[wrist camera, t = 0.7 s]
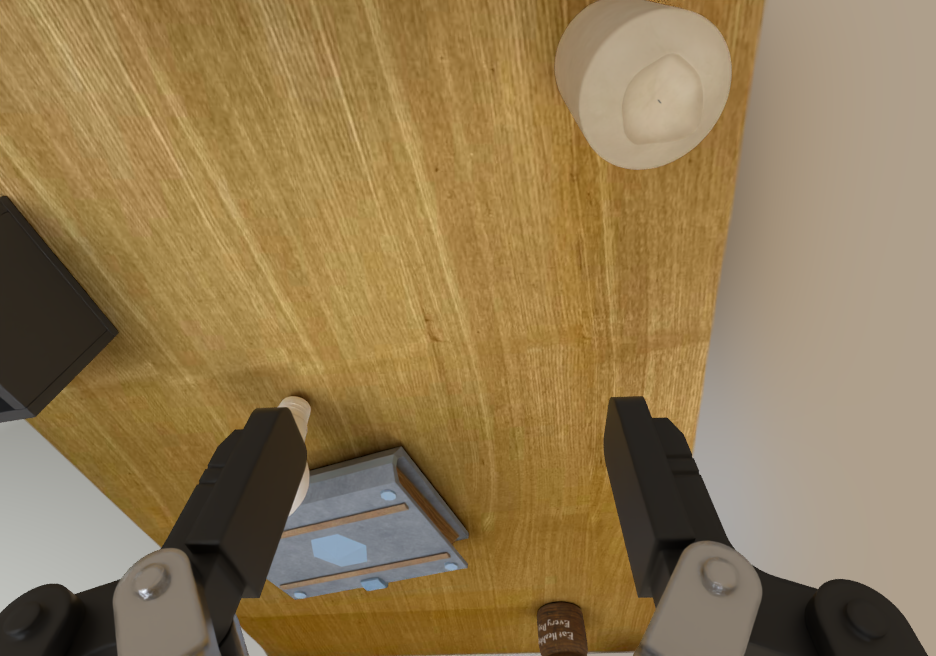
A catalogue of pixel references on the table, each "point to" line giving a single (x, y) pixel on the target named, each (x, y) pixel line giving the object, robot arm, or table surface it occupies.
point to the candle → (642, 80)
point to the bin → (40, 321)
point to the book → (366, 529)
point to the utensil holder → (561, 630)
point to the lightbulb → (301, 416)
